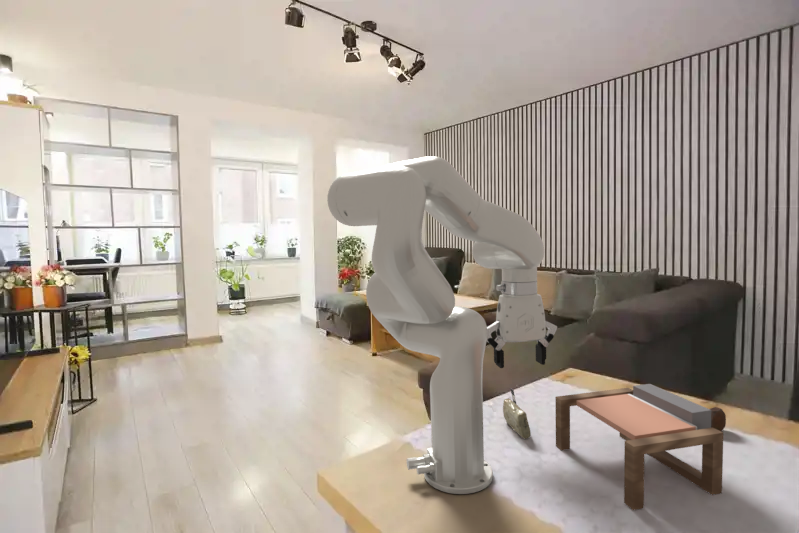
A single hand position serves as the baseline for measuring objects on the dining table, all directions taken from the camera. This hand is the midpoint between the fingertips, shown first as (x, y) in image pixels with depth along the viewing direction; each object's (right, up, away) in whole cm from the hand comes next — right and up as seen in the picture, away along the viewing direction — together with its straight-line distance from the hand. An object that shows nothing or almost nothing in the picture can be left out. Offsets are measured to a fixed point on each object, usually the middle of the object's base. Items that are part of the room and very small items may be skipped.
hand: (520, 364), depth 99 cm
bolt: (+39, -14, +3) cm, 41 cm away
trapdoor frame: (+16, -16, -16) cm, 28 cm away
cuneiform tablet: (0, -15, +2) cm, 15 cm away
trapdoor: (+18, -8, -16) cm, 26 cm away
